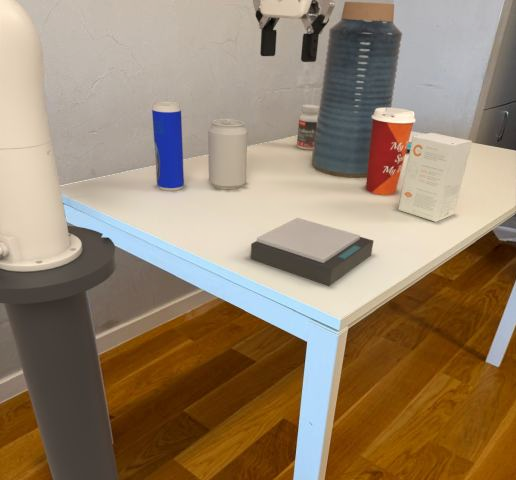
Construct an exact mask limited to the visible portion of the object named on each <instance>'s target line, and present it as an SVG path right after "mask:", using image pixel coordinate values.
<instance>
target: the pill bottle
mask: <svg viewBox="0 0 516 480" xmlns="http://www.w3.org/2000/svg"><path fill="white" fill-rule="evenodd" d="M301 111H302V114H301V115H299V119H298V126H297V127H298V128H297V138H296V147H297V148H298V149H301V150H308V151H313V150H314V149H313V146H314V141H315V131H316V124H317V116H318V114H319V105H317V104H303V105H302V108H301Z"/></svg>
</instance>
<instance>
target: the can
mask: <svg viewBox="0 0 516 480" xmlns="http://www.w3.org/2000/svg"><path fill="white" fill-rule="evenodd" d="M244 125H245V122H244V121H243V120H240V119H232V118H218V119H213V120H211V126H209V128H208V129H207V130H208V131H207V135H208V136H207V138H208V139H207V141H208V143H207V144H208V146H207V147H208V151H207V152H208V182H209V183H210V184H211V185H212V186H213V187H214V188H217V189H219V190H237V189H239V188H242V187H243V185H244V184H245V183H246V182H247V160H248V130H247V129H246V127H245V126H244Z"/></svg>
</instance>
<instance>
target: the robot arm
mask: <svg viewBox="0 0 516 480" xmlns="http://www.w3.org/2000/svg"><path fill="white" fill-rule="evenodd" d="M252 4H253V7H254V8H253V9H254V12H255V18H256V21H257V23H258V29H259V30H261V31H260V32H261V33H260V50H259V51H260V57H275V55H276V52H277V51H276V50H277V49H276V48H277V36H278V35H277V34H278V32H277V29H274V28H276V25H277V24H278V22H279V20H280V19H290V20H291V19H292V20H301V22H302V24H303V27H304V29H305V32H306V33H303V34H302V44H301V55H300V61H301V62H302V63H315V62H316V61H317V56H318V48H319V47H318V46H319V36H320V35H321V34H322V33H323V31H324V28H325V27H326V26H327V25H328V23H329V22H330V17H331V16H332V13H333V11H334V8H335V6H336V4H335V1H334V0H252ZM43 53H44V52H43V46H42V42H41V38H40V35H39V32H38V29H37V27H36V24H35V22H34V20H33V19H32V17H31V16H30V15H29V13H28V12H27V10H25V8H24V7H23V6H22V5H21V4H20V3H19V2H18V1H17V0H0V269H4V270H8V271H15V272H34V271H43V270H48V269H53V268H56V267H60V266H63V265H65V264H68V263H70V262H72V261H73V260H75V259H76V258H77V257H79V255H80V254H81V253H82V243H81V240H80V239H79V238H78V237H76V236H74V235H73V234H70V233H68V228H67V226H68V222H67V217H66V211H65V206H64V201H63V195H62V190H61V184H60V178H59V173H58V167H57V161H56V155H55V150H54V144H53V139H52V134H51V129H50V122H49V116H48V110H47V109H48V108H47V102H46V101H47V100H46V90H45V68H44V67H45V66H44V65H45V64H44V54H43Z"/></svg>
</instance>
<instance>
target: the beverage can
mask: <svg viewBox="0 0 516 480" xmlns="http://www.w3.org/2000/svg"><path fill="white" fill-rule="evenodd" d="M151 115H152V128H153V129H152V130H153V141H154V143H153V144H154V157H155V172H156V173H155V175H156V186H157V187H158V188H159V189H160V190H161V191H164V192H165V191H167V192H174V191H180V190H182V188H183V187H184V185H185V177H184V175H185V174H184V173H185V172H184V152H183V150H184V148H183V126H182V125H183V124H182V123H183V122H182V108H181V106H180V103H179V102H175V101H156V102H153V103H152V108H151Z"/></svg>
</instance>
